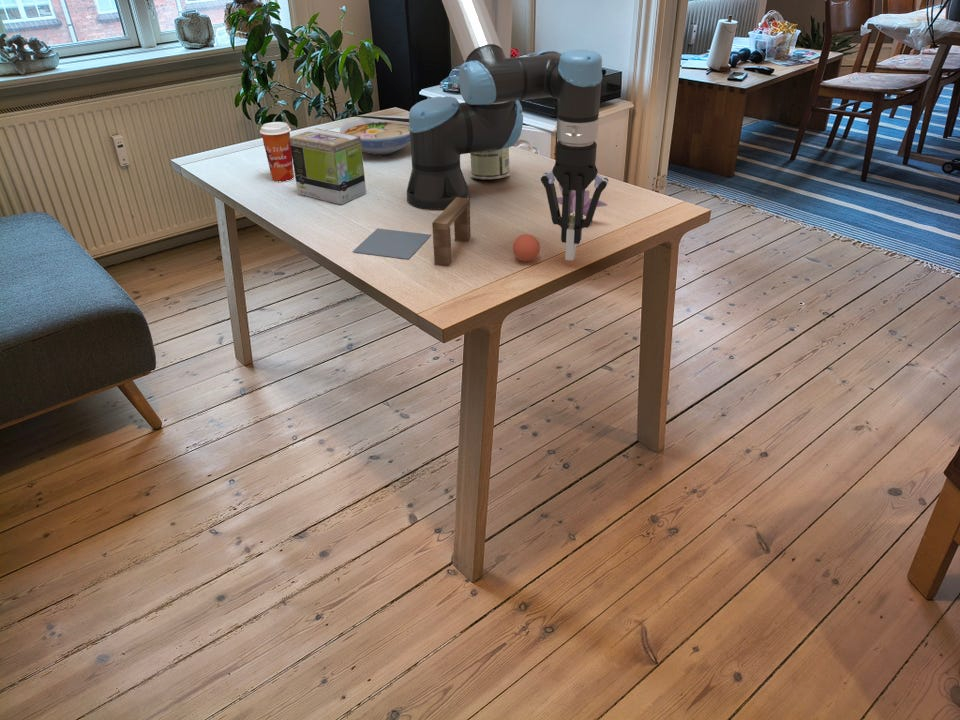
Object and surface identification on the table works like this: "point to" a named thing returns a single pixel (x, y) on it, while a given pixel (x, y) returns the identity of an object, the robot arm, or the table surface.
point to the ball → (526, 247)
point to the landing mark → (392, 243)
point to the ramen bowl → (379, 133)
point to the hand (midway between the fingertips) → (570, 257)
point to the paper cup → (278, 150)
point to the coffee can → (490, 164)
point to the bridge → (441, 229)
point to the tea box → (328, 165)
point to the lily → (573, 202)
